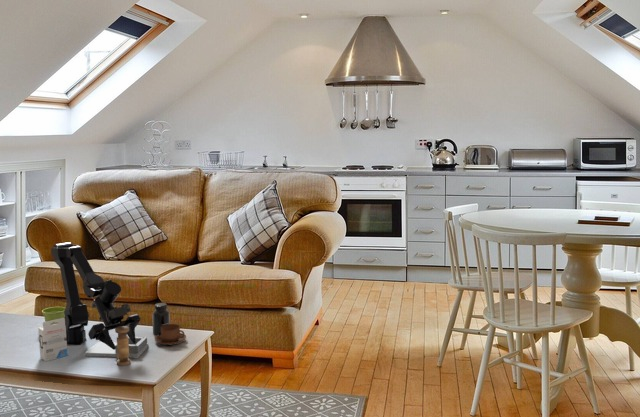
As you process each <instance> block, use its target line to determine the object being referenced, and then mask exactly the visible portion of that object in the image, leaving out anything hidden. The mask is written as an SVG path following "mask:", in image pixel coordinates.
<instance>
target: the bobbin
mask: <svg viewBox="0 0 640 417" xmlns="http://www.w3.org/2000/svg"><path fill="white" fill-rule="evenodd" d="M128 331H129V327H127V326H121V327H117V328H115V329H114V332H115V333H116V334H117V337H116V342H117V355H118V357H117V358H118V359H117V360H116V365H117V366H122V367H124V366H128V365H130V364H131V362H132V361H131V359H130V357H129V340H128V335H127V332H128Z"/></svg>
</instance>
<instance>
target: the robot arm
mask: <svg viewBox="0 0 640 417" xmlns="http://www.w3.org/2000/svg"><path fill="white" fill-rule="evenodd" d="M83 251H84V250H83V247H82V246H80V245H78V244H73V243H72V242H62V243H61V242H60V243H56V244H54V245H52V247H51V248H50V254H51V256H52V258H53V262H54V263H55V264H57V266H58V267H59V270H60V275H61V280H62V284H63V290H64V294H65V299H66V305H65V310H64V318H65V326H66V339H67V346H68V345H69V346H71V345H73V346H81V344H83V343H84V342H86V341H87V338H86V337H87V335H88V337H89V340H94V339H95V340H96V341H98V342H103V343H105V344H106V345H108V346H109V347H110V348H112V349H113V350H115V349H116V347H115V345H114V343H113V342H114V341H113V339H112V337H111V335H110V331H113V330H115V328H117V327H121V326H127V327H129V331H128V332H127V336H128V337H129V338H130V340H131V341H132V342H133V343H134V344H135V343H136V339H135V337H136V331H135V330H136V329H135V328H136V327H137V326H138V324H140V321H141V320H142V319H141V316H140V314H137V313H136V314H135V313H134V314H132V315H129V313H130V312H131V307H130V305H129V303H124V304H121V306H120V307H117V306H114V304H113V303H114V302H115V301H116V299H117V298H118V297H119V295H120V293H121V291H122V287H121V285H119V284H118V283H117V282H114V281H112V279H106V280H104V278H103V277H102V276H100V275H98V274H96V273H95V271H94V269H93V267H92V266H91V264H90V262H89V261H88V259H87V257H86V256H85V254H84V252H83ZM75 269H76V271H77V273H78V275H79V277H80V278H81V280H82V289H83V292H84V295H85V296H86V298H89V299H93V298H94V299H93V300H92V301H93V303H92V309H93V308H96V310H97V312H98V314H99V316H100V317H98V319H99V321H102V322H99V323H96V324H93V325H92V326H91V328H90V329H89V331H88V333H87V335H86V329H85V327H87V326H88V325H89V319H90V318H89V317H90V314H89V312H88V306H87V304H86V303H83V302H82V301H81V298H80V292H79V287H78V283H77V279H76V272H75ZM127 315H128V316H127ZM124 316H127V318H126V319H125V320H123V319H124V318H125V317H124Z"/></svg>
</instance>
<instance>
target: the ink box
mask: <svg viewBox="0 0 640 417" xmlns="http://www.w3.org/2000/svg"><path fill="white" fill-rule="evenodd" d="M53 322H55V323H56V322H58V324H53V325H50V324H51V323H53ZM37 330H38V343H39V346H38V347H39V358H40V359H41V360H42V361H44V362H48V361H52V360H56V359H60V358H63V357H67V356H68V345H67V339H66V326H65V318H60V319H55V320H51V321H46V322H45V321H43V322H42V326H41V327H40V326H39V327H37Z"/></svg>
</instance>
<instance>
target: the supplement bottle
mask: <svg viewBox="0 0 640 417" xmlns="http://www.w3.org/2000/svg"><path fill="white" fill-rule="evenodd" d="M170 316H171V315H170V311H169V310H168V304H167V303H166V302H157V303H155V305H154V311H153V312H152V333H153V335H155V336H158V335H161V327H162V326H164V325H168V324H171V319H170V318H171V317H170Z"/></svg>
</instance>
